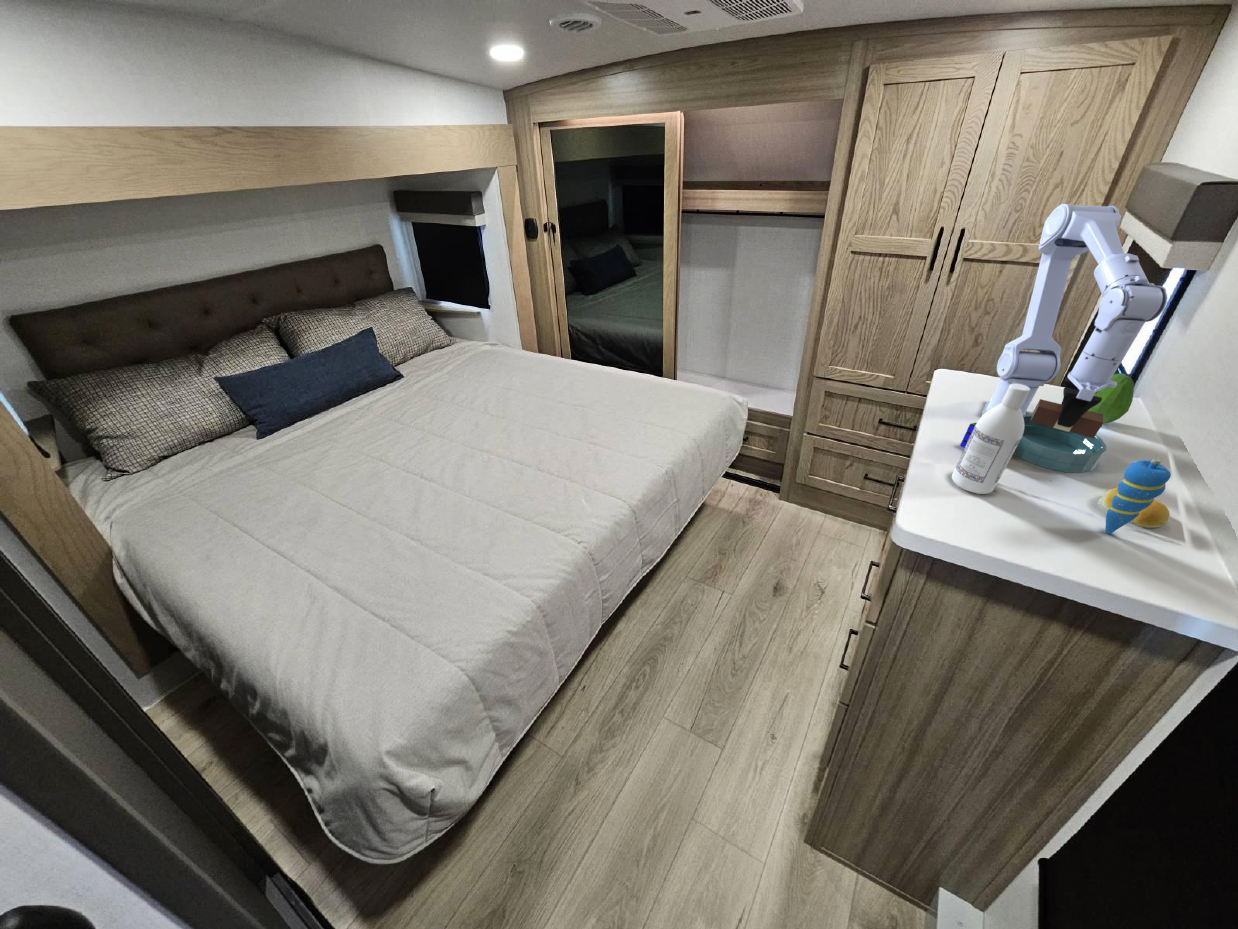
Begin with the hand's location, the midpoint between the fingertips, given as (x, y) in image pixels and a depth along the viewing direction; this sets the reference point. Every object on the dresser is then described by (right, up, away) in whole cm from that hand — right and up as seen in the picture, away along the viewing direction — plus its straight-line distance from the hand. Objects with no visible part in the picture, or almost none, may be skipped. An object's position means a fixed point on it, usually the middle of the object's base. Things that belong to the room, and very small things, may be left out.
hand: (1064, 420), depth 100 cm
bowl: (+2, -6, +7) cm, 9 cm away
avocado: (+23, +1, +19) cm, 29 cm away
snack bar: (0, -1, +1) cm, 1 cm away
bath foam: (-20, -12, -3) cm, 24 cm away
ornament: (-5, -20, -14) cm, 25 cm away
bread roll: (+3, -17, -10) cm, 20 cm away
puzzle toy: (-12, -6, +7) cm, 15 cm away
